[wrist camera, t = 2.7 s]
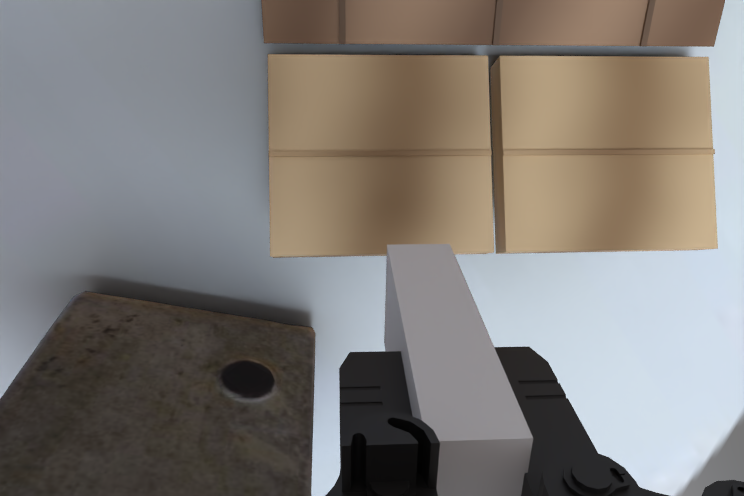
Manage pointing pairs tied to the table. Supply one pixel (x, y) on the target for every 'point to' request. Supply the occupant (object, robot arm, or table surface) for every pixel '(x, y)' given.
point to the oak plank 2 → (602, 154)
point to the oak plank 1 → (378, 154)
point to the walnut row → (493, 22)
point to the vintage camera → (160, 405)
